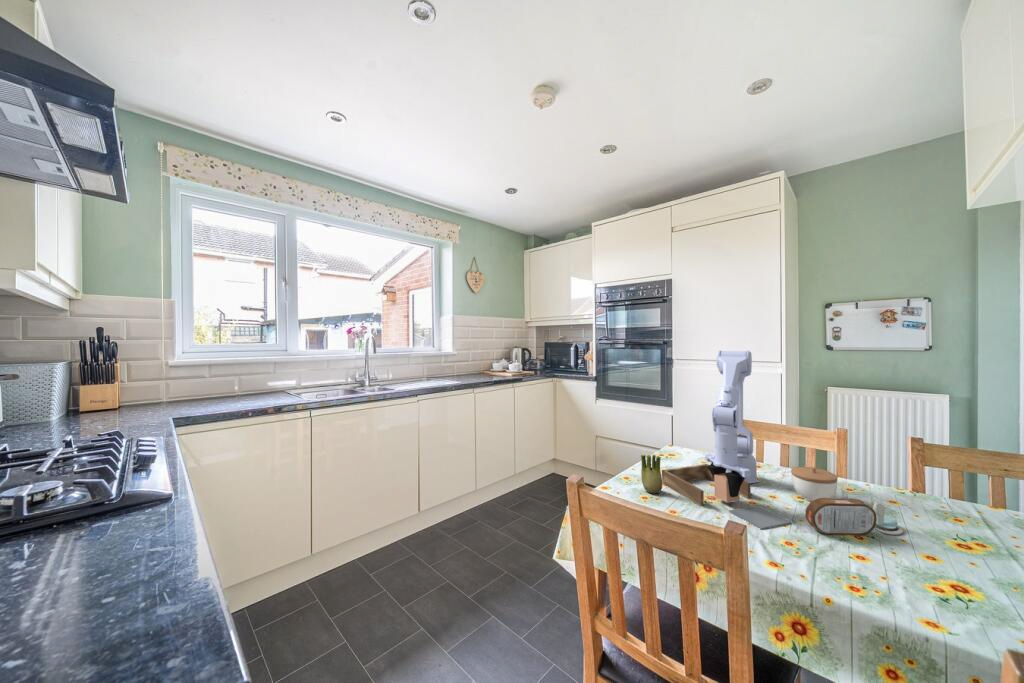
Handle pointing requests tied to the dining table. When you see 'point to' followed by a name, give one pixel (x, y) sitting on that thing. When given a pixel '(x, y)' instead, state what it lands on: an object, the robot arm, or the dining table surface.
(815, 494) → the lidded jar
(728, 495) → the block
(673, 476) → the open frame
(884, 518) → the pacifier
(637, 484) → the dining table surface
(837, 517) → the tin
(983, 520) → the dining table surface
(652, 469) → the fennel bulb
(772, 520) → the mat
